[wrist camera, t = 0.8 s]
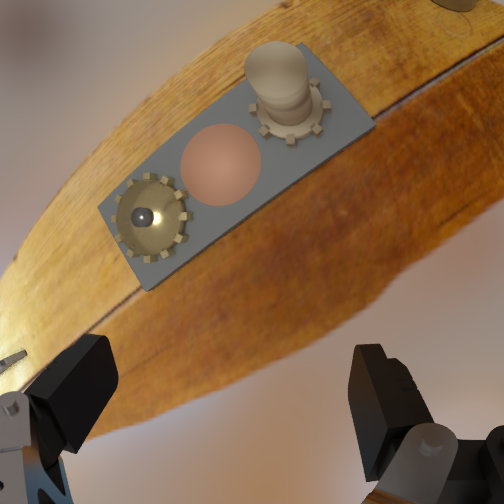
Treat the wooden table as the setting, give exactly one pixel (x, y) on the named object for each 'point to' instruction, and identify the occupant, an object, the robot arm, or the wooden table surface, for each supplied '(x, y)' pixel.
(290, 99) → the beech gear spindle
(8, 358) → the caliper
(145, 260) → the brass gear
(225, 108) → the gear board
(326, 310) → the wooden table surface
